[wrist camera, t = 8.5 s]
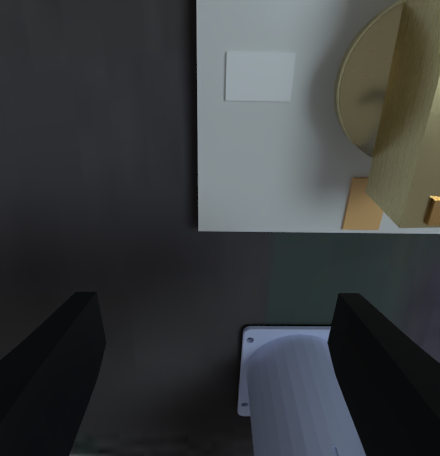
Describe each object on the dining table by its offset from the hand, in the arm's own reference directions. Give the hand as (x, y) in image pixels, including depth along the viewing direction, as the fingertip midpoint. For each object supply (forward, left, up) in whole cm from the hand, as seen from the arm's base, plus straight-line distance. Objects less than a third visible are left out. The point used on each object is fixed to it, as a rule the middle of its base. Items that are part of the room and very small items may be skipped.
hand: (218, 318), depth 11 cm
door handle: (+6, -8, -8) cm, 13 cm away
